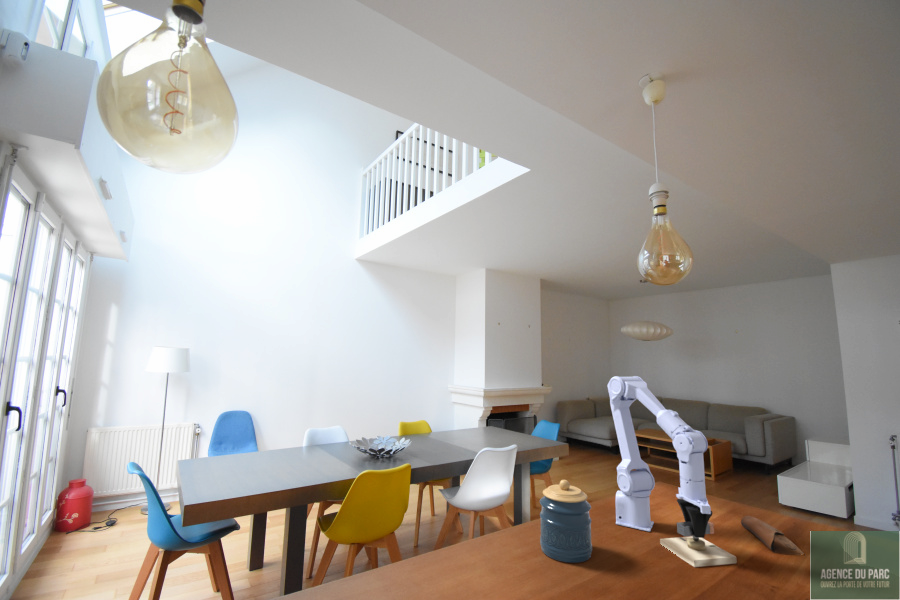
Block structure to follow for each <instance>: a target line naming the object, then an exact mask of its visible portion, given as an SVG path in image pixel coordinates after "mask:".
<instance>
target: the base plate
mask: <svg viewBox="0 0 900 600" xmlns="http://www.w3.org/2000/svg"><path fill="white" fill-rule="evenodd" d="M659 544H661V545H662V546H661V545H660V546H661V547H663V546H664V547H665V549H666V548H667V549H668V550H667V549H666V550H667V551H669V550H670V551H671V553H672V552H673V553H672V554H673V555H675V554H676V556H677V557H678V558H680V559H681V560H682V561H684V562H686V563H688V565H690V566H692V567H693V568H699V567H711V566H713V567H714V566H721V565H723V566H724V565H733V564H734V565H735V564H737V563H738V561H737V556H735V555H734V554H732V553H730V552H728V551H727V550H725V549H723V548H721V547H720V546H717V545H716V544H714V543H712V542H710V541H708V540H706V539H705V538H699V541H694V540H693V536H683V537H682V536H681V537H680V536H679V537H665V538H659ZM664 547H663V548H664ZM670 551H669V552H670Z"/></svg>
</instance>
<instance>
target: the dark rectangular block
mask: <svg viewBox="0 0 900 600" xmlns="http://www.w3.org/2000/svg"><path fill="white" fill-rule="evenodd" d="M676 532H677V534H679V535H680V536H681V535H682V536H683V537H691V536H693V540H694V541H699V537H695V536H694V533H693V528H692V522H691V521H690V522H685V521H682V522H681V521H679V522H676ZM714 534H715V526H714V523H713V522H711V521H710V520H709V521H708V524H707V527H706V532H705V535H714Z"/></svg>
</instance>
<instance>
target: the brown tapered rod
mask: <svg viewBox="0 0 900 600" xmlns="http://www.w3.org/2000/svg"><path fill="white" fill-rule="evenodd" d="M740 523H741V526H742V527H743V528H744V529H746V530H748V531H749V532H751V533H752V535H754V536H755V538H757V539H759V540H760V541H761V542H762V543H763V544H764V546H766V547H767V548H768V549H769V550H771V551H772V552H773V554H780V555H781V554H783V555H788V556H789V555H791V556H801V554H802V555H803V554H805V553H804V552H803V551H802V550H801V549H800V548H799V547H798V546H797V545H796V544H795V543H794V542H793V541H792V540H790V539H789V538H788V537H786V536H785V533H783V532H782V531H781V530H780V529H778V528H776V527H774V526H773V525H771V524H769V523H767V522H766V521H763V520H761V519H759V518H756V517H755V516H750V515H745V516H743V517H742V518H741V521H740Z"/></svg>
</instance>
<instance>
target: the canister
mask: <svg viewBox="0 0 900 600" xmlns="http://www.w3.org/2000/svg"><path fill="white" fill-rule="evenodd" d="M542 494H543V496H541V498H540V499H539V504H540V505H541V511H540V512H539V517H540V536H539V539H540V541H539V542H540V543H539V544H540V546H541V547H540V548H541V552H542V553H543V554H545V555H546V556H547V557H549V558H550V559H553V560H556V561H558V562H564V563H568V564H569V563H572V564H576V563H583V562H586V561H588V560H590V559H591V558H592V553H593V544H592V525H591V524H592V518H591V517H590V511H591V509H592V506H591V504H590V503H589V501H587V500H588V495H587V493H585V492H584V491H582V489H580V488H579V487H577V486H574V485H571V484H570V482H569V481H568V480H567V479H561V480H560V481H559V484H557V483H556V484H552V485H549V486H548V487H546V488H544V489H543V490H542Z"/></svg>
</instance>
